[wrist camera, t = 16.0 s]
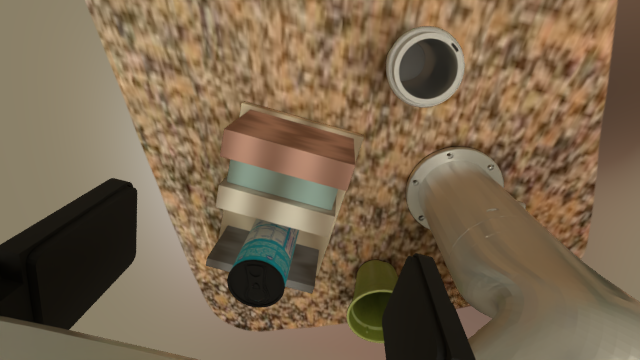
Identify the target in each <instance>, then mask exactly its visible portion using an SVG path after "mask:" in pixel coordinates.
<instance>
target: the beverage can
mask: <svg viewBox="0 0 640 360" xmlns="http://www.w3.org/2000/svg"><path fill="white" fill-rule="evenodd" d="M298 233H299V230H298V229H294V228H290V227H287V226H283V225H279V224H276V223H272V222H268V221H265V220H261V219H256V221H255V223H254V225H253V227H252V229H251V231H250V233H249V235H248V237H247V239H246V241H245V242H244V245H243V247H242V249H241V251H240V253H239V255H238V257H237V259H236V261H235V263H234V265H233V267H232V269H231V271H230V273H229V275H228V279H227V283H228V288H229V290H230V292H231V294H232V295H233V296H234V297H235V298H236V299H237V300H238V301H240V302H242V303H243V304H246V305H248V306H252V307H268V306H271V305H273V304H275V303H276V302H278V301H279V300H280V299H281V297H282V296H283V293H284V289H285V285H286V281H287V278H288V274H289V270H290V266H291V262H292V258H293V253H294V249H295V245H296V241H297V237H298Z"/></svg>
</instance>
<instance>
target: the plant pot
mask: <svg viewBox="0 0 640 360" xmlns="http://www.w3.org/2000/svg"><path fill="white" fill-rule="evenodd" d="M397 280H398V276H397V273H396V271H395V269H394V268H393V266H392V265H391V264H389V263H387V262H382V261H379V260H372V261H368V262H366V263H364V264H363V265H362V266H361V267H360V268H359V270H358V273H357V277H356V284H355V291H354V298H353V300H352V302H351V304H350V305H349V307H348V310H347V322H348V325H349V327H350V328H351V330H352V331H353V332H354V333H355V334H356V335H357V336H359V337H360V338H362V339H364V340H367V341H370V342H375V343H384V337H383V329H382V316H383V313H384V310H385V308H386V306H387V303H388V301H389V299H390V296H391V294H392V292H393V289H394V287H395V285H396V282H397Z"/></svg>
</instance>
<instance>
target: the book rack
mask: <svg viewBox="0 0 640 360" xmlns="http://www.w3.org/2000/svg"><path fill="white" fill-rule="evenodd" d="M363 138H364V136H363V135H362V134H358V133H355V132H351V131H348V130H344V129H341V128H337V127H333V126H330V125H326V124H323V123H319V122H316V121H312V120H309V119H305V118H302V117H298V116H295V115H291V114H288V113H284V112H281V111H277V110H274V109H270V108H267V107H263V106H259V105H256V104H252V103H249V102H245V101H244V102H243V103H242V105H241V111H240V117H239V118H238V119H237V120H235V121H234V122H233V123H231V124H230V125H229V126H227V127H226V128H225V129H224V133H223V140H222V146H221V153H220V156H221V157H224V158H228V159H230V165H229V171H228V175H227V176H226V178H225V179H224V180H223V181H222V182H221V183H220V185H219V188H218V194H217V201H216V207H217V208H220V209H224V211H223V216H222V222H221V228H220V234H219V240H218V242H217V243H216V245H215V246H214V248H213V250H212V251H211V253H210V254H209V256H208V257H207V262H206V266H209V267H213V268H217V269H221V270H224V271H228V272H230V271H231V269H232V267H233V265H234V263H235V261H236V259H237V257H238V255H239V253H240V251H241V249H242V247H243V245H244V242H245V241H246V239H247V237H248V235H249V233H250V231H251V229H252V227H253V225H254V223H255V221H256V219H261V220H265V221H268V222H272V223H276V224H279V225H283V226H287V227H290V228H294V229H298V230H299V233H298V237H297V241H296V245H295V249H294V253H293V258H292V262H291V266H290V270H289V274H288V278H287V281H286V285H285V287H289V288H293V289H296V290H300V291H304V292H308V293H312V292H313V289H314V286H315V278H316V275H317V276H318V273H319V270H320V267H321V264H322V261H323V258H324V255H325V252H326V249H327V246H328V243H329V240H330V237H331V234H332V231H333V228H334V225H335V222H336V219H337V216H338V213H339V210H340V207H341V204H342V201H343V198H344V195H345V192H346V191H347V189H348V186H349V183H350V180H351V177H352V174H353V172H354V169H355V162H356V159H357V156H358V153H359V150H360V147H361V144H362V141H363Z"/></svg>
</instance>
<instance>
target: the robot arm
mask: <svg viewBox="0 0 640 360" xmlns="http://www.w3.org/2000/svg"><path fill="white" fill-rule="evenodd" d="M448 153H450V154H449V155H447V154H448ZM488 165H489V166H488ZM487 166H488V167H487ZM413 180H416V181H415V182H413ZM406 201H407V205H408V208H409V210H410V212H411V214H412V216H413V217H414V218H415V219H416V221H417V222H418V223H420V224H421V225H422V226H424V227H425V228H428V229H430V230H431V232H432V234H433V236H434V239H435V241H436V243H437V245H438V248H439V250H440V252H441V255H442V257H443V259H444V261H445V264H446V266H447V268H448V270H449V273H450V275H451V277H452V279H453V282H454V284H455V286H456V288H457V289H458V291H459V293H460V294H461V295H462V297H463V298H464V299H465V300H466V301H467V302H468V303H469V304H470V305H471V306H472V307H474V308H475V309H477V310H478V311H480V312H481V313H483V314H485V315H487V316H489V317H491V318H493V319H492V320H491V321H489V322H488V323H487V324H486V325H485V326H483V327H482V328H481V329H480V330H478V331H477V332H476V334H474V335H473V336H472V337H470V338H469V339H467V337H466V334H465V332H464V329H463V327H462V324H461V322H460V319H459V317H458V314H457V312H456V309H455V307H454V305H453V303H451V301H450V299H449V296H448V294H447V291H446V289H445V286H444V284H443V281H442V279H441V276H440V274H439V271H438V269H437V266H436V264H435V261H434V259H433V258H432V257H429V256H425V255H421V254H417V253H416V254H414V255H413V257H412V256H408V258H407V259H406V262H405V264H404V266H403V269H402V271H401V273H400V275H399V278H398V280H397V282H396V285H395V287H394V289H393V292H392V294H391V296H390V299H389V301H388V303H387V306H386V308H385V310H384V313H383V316H382V329H383V337H384V345H385V353H386V360H640V302H639V301H637V300H636V299H634V298H633V297H632V296H630V295H629V294H627V293H626V292H624V291H623V290H621V289H620V288H618V287H617V286H615V285H614V284H612V283H611V282H610V281H608V280H606V279H605V278H603V277H602V276H601V275H600V274H598V273H597V272H596V271H594V270H593V269H592V268H590V267H589V266H588V265H586V264H585V263H584V262H582V261H581V260H580V259H579V258H578V257H577V256H575V255H574V254H573V253H572V252H571V251H570V250H568V249H567V248H566V247H565V246H564V245H563V244H562V243H561V242H559V241H558V240H557V239H556V238H555V237H554V236H553V235H552V234H551V233H550V232H549V231H548V230H547V229H546V228H545V227H544V226H542V225H541V224H540V223H539V222H538V221H537V220H536V219H535V218H534V217H533V216H532V215H531V214H530V213H529V212H528V211H527V210H526V209H525V208H526V205H525V203H523V202H520V201H516V200H515V199H514V198H513V197H512V196H511V195H510V194H509V193H508V192H507V191H506V190H505V189H504V179H503V176H502V173H501V171H500V169H499V167H498V166H497V164H496V163H495V162H494V161H493V160H492V159H491V158H490V157H488V156H487V155H486V154H484V153H482V152H480V151H479V150H476V149H472V148H469V147H449V148H446V149H442V150H439V151H437V152H434V153H432V154H430V155H429V156H428V157H426V158H425V159H423V160H422V161H421V162H420V163H419V164H418V165H417V166H416V167H415V169H414V170H413V171H412V173H411V175H410V177H409V179H408V182H407V186H406ZM421 215H422V216H421ZM136 228H137V190H136V188H133V185H132V183H130V182H126V181H122V180H118V179H115V178H111V179H109V180H107V181H106V182H104V183H102V184H101V185H99V186H97V187H96V188H94V189H92V190H91V191H89V192H88V193H86V194H84V195H82V196H81V197H79V198H77V199H76V200H74V201H72V202H71V203H69V204H67V205H66V206H64V207H62V208H61V209H59V210H57V211H56V212H54V213H52V214H51V215H49V216H47V217H46V218H44V219H42V220H41V221H39V222H37V223H36V224H34V225H33V226H31V227H29V228H28V229H26V230H24V231H23V232H21V233H19V234H18V235H16V236H14V237H12V238H11V239H9V240H7V241H6V242H4V243H2V244H1V245H0V360H198V359H193V358H189V357H185V356H180V355H176V354H172V353H168V352H163V351H159V350H155V349H150V348H146V347H141V346H137V345H132V344H128V343H124V342H119V341H115V340H111V339H105V338H102V337H97V336H93V335H88V334H84V333H80V332H75V331H71V330H69V329H70V328H71V327H72V326H73V325H74V324H75V323H76V322H77V321H78V319H80V318H81V317H82V316H83V315H84V313H85V312H86V311H87V310H88V309H89V308H90V307H91V306H92V305H93V304H94V303H95V302H96V301H97V300H98V299H99V298H100V296H101V295H102V294H103V293H104V292H105V291H106V290H107V289H108V288H109V287H110V286H111V285H112V284H113V283H114V282H115V281H116V280H117V279H118V277H119V276H120V275H121V274H122V273H123V272H124V271H125V270H126V269H127V268H128V267H129V266H130V265H131V264H132V262H133V260H134V258H135V255H136Z"/></svg>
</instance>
